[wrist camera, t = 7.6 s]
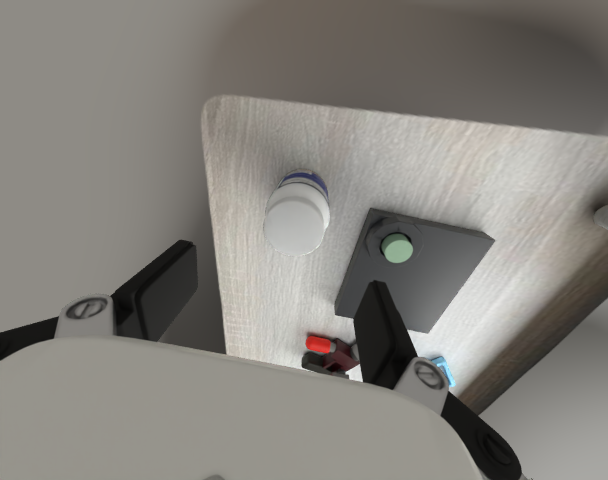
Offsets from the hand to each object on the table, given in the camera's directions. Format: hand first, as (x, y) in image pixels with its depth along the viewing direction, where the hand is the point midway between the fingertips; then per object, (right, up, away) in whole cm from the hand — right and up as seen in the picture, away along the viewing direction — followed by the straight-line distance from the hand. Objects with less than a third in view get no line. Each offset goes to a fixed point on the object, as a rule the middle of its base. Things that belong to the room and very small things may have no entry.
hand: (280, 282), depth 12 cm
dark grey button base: (+14, -2, +18) cm, 23 cm away
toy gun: (+6, -16, +26) cm, 31 cm away
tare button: (+11, +2, +12) cm, 17 cm away
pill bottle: (+1, +8, +14) cm, 16 cm away
